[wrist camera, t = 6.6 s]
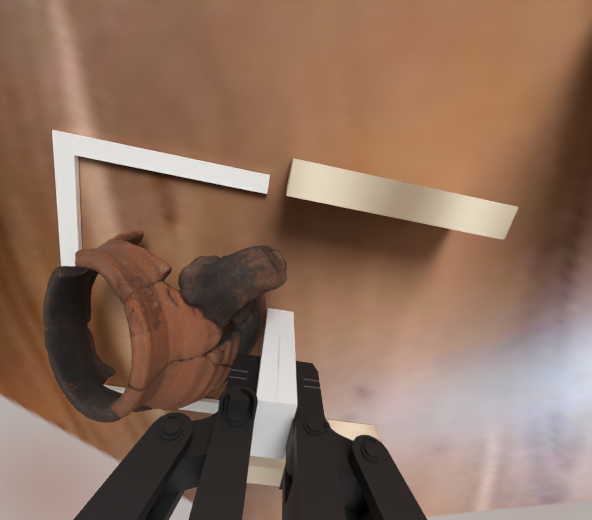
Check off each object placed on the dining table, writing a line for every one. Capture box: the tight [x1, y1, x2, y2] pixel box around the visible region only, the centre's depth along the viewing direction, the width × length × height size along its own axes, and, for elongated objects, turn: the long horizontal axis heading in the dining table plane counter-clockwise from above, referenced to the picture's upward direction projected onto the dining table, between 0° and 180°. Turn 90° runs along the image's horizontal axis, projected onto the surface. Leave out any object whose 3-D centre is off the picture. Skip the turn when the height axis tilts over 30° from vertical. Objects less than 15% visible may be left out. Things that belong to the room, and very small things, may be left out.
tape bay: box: [52, 130, 270, 414], centre depth 17 cm, size 11×17×1 cm, turn 169°
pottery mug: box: [43, 231, 287, 422], centre depth 15 cm, size 12×9×8 cm
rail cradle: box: [247, 158, 519, 486], centre depth 17 cm, size 10×19×4 cm, turn 169°
